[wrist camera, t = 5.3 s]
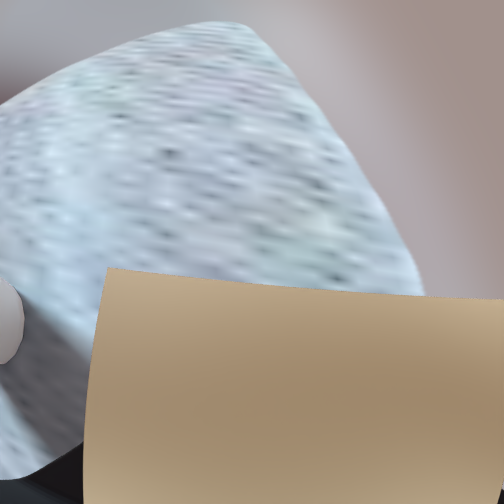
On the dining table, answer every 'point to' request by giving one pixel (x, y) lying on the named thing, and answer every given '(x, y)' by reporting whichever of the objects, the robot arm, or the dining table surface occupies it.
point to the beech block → (291, 395)
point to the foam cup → (10, 321)
